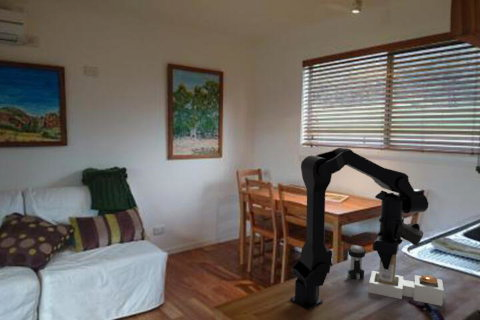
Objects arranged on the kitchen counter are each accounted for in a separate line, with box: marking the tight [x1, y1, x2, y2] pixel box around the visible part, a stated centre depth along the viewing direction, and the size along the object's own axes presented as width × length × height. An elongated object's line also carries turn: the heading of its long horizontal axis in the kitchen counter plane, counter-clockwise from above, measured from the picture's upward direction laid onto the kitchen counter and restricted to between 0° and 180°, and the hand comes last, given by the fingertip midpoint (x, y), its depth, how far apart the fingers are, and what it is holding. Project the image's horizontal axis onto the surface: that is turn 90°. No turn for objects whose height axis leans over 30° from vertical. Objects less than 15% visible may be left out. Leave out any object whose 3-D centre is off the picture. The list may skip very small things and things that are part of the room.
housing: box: [368, 270, 445, 307], centre depth 107 cm, size 19×9×4 cm, turn 65°
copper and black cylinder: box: [420, 274, 438, 287], centre depth 104 cm, size 4×4×6 cm
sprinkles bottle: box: [378, 254, 397, 285], centre depth 108 cm, size 5×5×13 cm
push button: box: [343, 244, 367, 281], centre depth 115 cm, size 7×5×10 cm
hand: (387, 266), depth 108 cm, fingers closed on sprinkles bottle, 4 cm apart
